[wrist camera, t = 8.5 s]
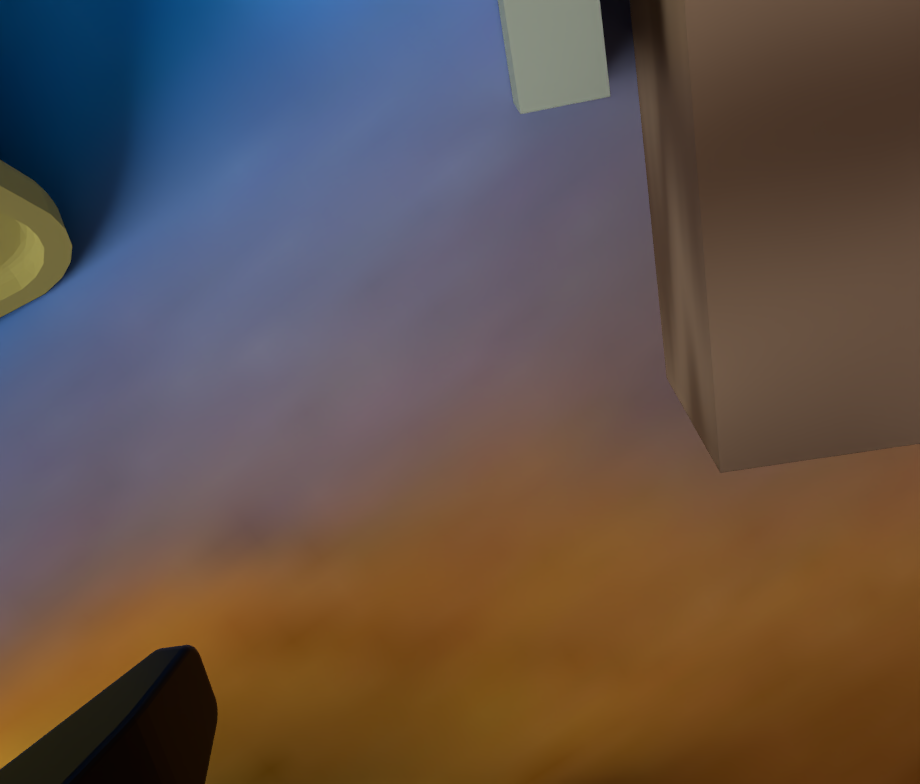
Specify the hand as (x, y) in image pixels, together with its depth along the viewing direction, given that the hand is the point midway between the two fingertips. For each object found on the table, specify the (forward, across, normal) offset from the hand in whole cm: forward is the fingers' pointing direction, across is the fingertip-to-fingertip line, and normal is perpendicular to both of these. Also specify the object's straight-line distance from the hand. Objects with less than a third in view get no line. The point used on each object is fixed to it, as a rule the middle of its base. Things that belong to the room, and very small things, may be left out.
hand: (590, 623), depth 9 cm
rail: (+11, -5, -4) cm, 13 cm away
